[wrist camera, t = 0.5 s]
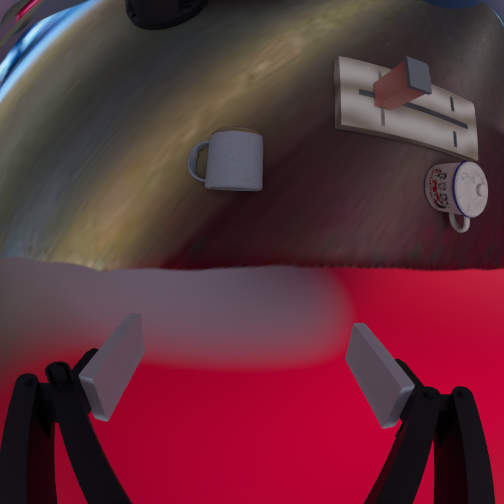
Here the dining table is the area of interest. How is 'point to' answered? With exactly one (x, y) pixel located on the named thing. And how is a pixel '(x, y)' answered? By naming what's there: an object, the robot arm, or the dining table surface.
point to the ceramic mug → (231, 160)
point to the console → (403, 112)
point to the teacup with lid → (457, 190)
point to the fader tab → (402, 84)
